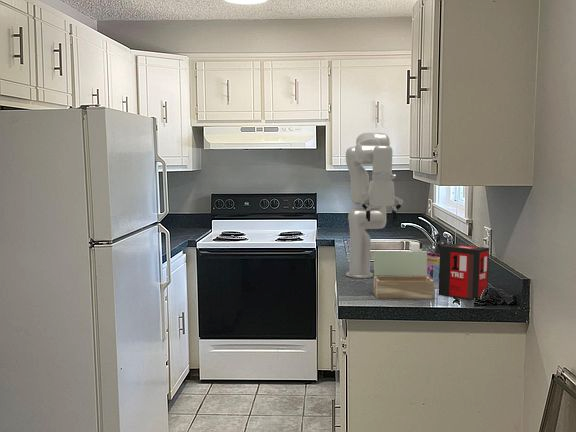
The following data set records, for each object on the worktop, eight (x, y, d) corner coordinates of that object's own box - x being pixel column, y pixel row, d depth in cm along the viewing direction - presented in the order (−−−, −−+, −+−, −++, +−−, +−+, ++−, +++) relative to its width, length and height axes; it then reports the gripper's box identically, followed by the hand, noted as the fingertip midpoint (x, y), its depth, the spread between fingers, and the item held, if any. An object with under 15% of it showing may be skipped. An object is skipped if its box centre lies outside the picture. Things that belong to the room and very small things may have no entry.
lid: (374, 275, 246) (373, 275, 247) (427, 275, 247) (426, 275, 247) (374, 251, 247) (373, 251, 248) (426, 251, 247) (426, 251, 248)
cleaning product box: (438, 295, 245) (440, 245, 243) (448, 291, 251) (450, 243, 249) (477, 301, 234) (479, 250, 232) (487, 297, 240) (489, 247, 238)
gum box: (408, 284, 266) (409, 253, 265) (417, 281, 272) (418, 251, 270) (458, 292, 250) (459, 259, 248) (467, 289, 256) (468, 257, 254)
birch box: (373, 293, 247) (373, 276, 246) (427, 293, 247) (427, 276, 247) (377, 298, 237) (377, 281, 236) (433, 299, 237) (433, 281, 237)
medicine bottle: (412, 263, 318) (412, 240, 317) (425, 264, 314) (425, 241, 313) (406, 265, 312) (407, 242, 311) (419, 266, 308) (420, 243, 307)
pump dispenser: (426, 270, 297) (427, 240, 295) (439, 268, 304) (440, 238, 302) (444, 274, 289) (445, 242, 288) (456, 271, 296) (457, 240, 294)
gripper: (402, 177, 241) (401, 220, 243) (358, 177, 241) (357, 219, 243) (405, 178, 233) (404, 222, 235) (360, 177, 233) (360, 221, 235)
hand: (380, 221), depth 239 cm, fingers open, 9 cm apart
